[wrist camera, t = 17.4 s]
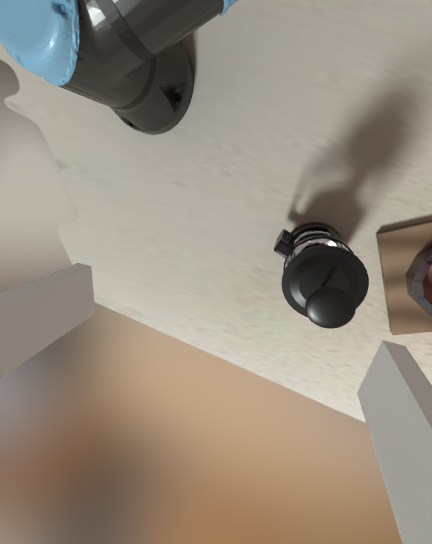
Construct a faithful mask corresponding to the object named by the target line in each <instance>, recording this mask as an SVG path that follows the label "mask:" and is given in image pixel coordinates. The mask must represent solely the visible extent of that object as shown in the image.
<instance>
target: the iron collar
mask: <svg viewBox="0 0 432 544" xmlns="http://www.w3.org/2000/svg"><path fill="white" fill-rule="evenodd" d="M431 265H432V245H431V246H429V247H428V248H426V249H425V250H423V251H422V252H420V253H419V254H417V255H416V257H415V258H414V260H413V262H412V264H411V266H410V267H409V269H408V271H407V273H406V275H405V276H406V284H407V292H408V295H409V296H410V297H411V298H412V299H413V300H414V301H415V302H416V303H417V304H418V305H419V306H420V307H421V308H422V309H423V310H424V311H425V312H426V313H427V314H428V315H429V316H432V304H431V303H429V302H428V301H427V300H426V299H425V298H424V292H423V282H422V281H423V279H424V277H425V275H426V274H427V272H428V270H429V269H430V267H431Z"/></svg>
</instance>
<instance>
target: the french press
mask: <svg viewBox="0 0 432 544" xmlns="http://www.w3.org/2000/svg"><path fill="white" fill-rule="evenodd" d="M313 230H317V231H322V232H310V233H307V234H304V235H302V236H300V235H301V234H303V233H305V232H308V231H313ZM299 236H300V237H299ZM298 237H299V238H298ZM297 238H298V239H297ZM344 246H345V247H347V248H348V250H349V251H348V250H346V249H345V247H344ZM274 251H275V252H277V253H278V254H280V255H281V256H283V257H285V262H284V270H283V272H284V273H283V276H282V291H283V294H284V297H285V299H286V300H287V302H288V303H289V305H290V306H291V307H292V308H293V309H294V310H296V311H297V312H298V313H300V314H302V315H304V316H306V317H308V318H309V319H310V320H311V321H312V322H313V323H314V324H316V325H318V326H320V327H323V328H338V327H341V326H344V325H345V324H347V323H348V322H349V321H350V320H351V319H352V318H353V316H354V314H355V310H356V308H357V307H358V306H359V305H360V304H361V303H362V301H363V300H364V298H365V296H366V294H367V291H368V286H369V278H368V274H367V270H366V268H365V267H364V265H363V263H362V262H361V261H360V260H359V258H358V257H357V256H356V255H354V253H353V252H352V250H351V249H350V248H349V247H348V246H347V245H346V244H345V243H344V241H343V240H342V239H341V237H340V235H339V233H338V232H337V231H336V230H335V229H334V228H332V227H331V226H329V225H327V224H324V223H319V222H312V223H307V224H304V225H301V226H300V227H298V228H296V229H295V230H294V231H293V232H292V233H290V232H288V231H286V230H284V229H283V230H282V232H281V233H280V235H279V236H278V238H277V241H276V244H275V247H274ZM286 262H287V266H286V268H285V265H286Z"/></svg>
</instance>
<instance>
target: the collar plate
mask: <svg viewBox="0 0 432 544" xmlns="http://www.w3.org/2000/svg"><path fill="white" fill-rule="evenodd" d="M376 236H377V243H378V249H379V256H380V263H381V270H382V277H383V284H384V290H385V297H386V304H387V311H388V318H389V324H390V331H391V333H392V334H393V335H399V334H411V333H422V332H432V316H429V315H428V314H427V313H426V312H425V311H424V310H423V309H422V308H421V307H420V306H419V305H418V304H417V303H416V302H415V301H414V300H413V299H412V298H411V297H410V296H409V295H408V292H407V284H406V276H405V275H406V273H407V271H408V269H409V267H410V266H411V264H412V262H413V260H414V258H415V257H416V255H417V254H419V253H420V252H422V251H423V250H425V249H426V248H428V247H429V246H431V245H432V221H429V222H424V223H420V224H415V225H411V226H406V227H402V228H397V229H393V230H388V231H384V232H379V233H376ZM431 276H432V265H431V267H430V269H429V270H428V272H427V274H426V275H425V277H424V279H423V281H422V282H423V292H424V298H425V299H426V300H427V301H428V302H429V303H431V304H432V284H431Z"/></svg>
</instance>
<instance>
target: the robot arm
mask: <svg viewBox="0 0 432 544" xmlns="http://www.w3.org/2000/svg"><path fill="white" fill-rule="evenodd" d="M236 1H238V0H0V42H1V44H2V45H3V47H4V48H5V50H6V51H7V52H8V53H9V55H10V56H11V57H12V58H13V59H14V60H15V61H16V62H17V63H18V64H19V65H21V66H22V67H23V68H25V69H26V70H28V71H30V72H32V73H34V74H36V75H38V76H40V77H42V78H44V79H45V80H46V81H47V82H49V83H51V84H52V85H55V86H59V87H62V88H64V89H67V90H69V91H72V92H74V93H77V94H79V95H82V96H84V97H87V98H89V99H92V100H94V101H97V102H99V103H101V104H104V105H107V106H109V107H110V108H111V109H112V110H113V111H114V112H115V113H116V114H117V115H118V116H119V117H120V118H121V120H122V121H123V122H125V123H126V124H127V125H128V126H130V127H131V128H133V129H135V130H137V131H140V132H143V133H146V134H152V135H155V134H161V133H164V132H167V131H169V130H170V129H172V128H173V127H174V126H176V125H177V124H178V123H179V122H180V120H181V119H182V118H183V116H184V114H185V113H186V111H187V109H188V106H189V104H190V100H191V96H192V91H193V70H192V65H191V61H190V58H189V55H188V53H187V51H186V49H185V47H184V45H183V44H182V42H181V41H180V40H182V39H183V38H185V37H186V36H188V35H189V34H191V33H192V32H193V31H195V30H196V29H198V28H199V27H201V26H202V25H204V24H205V23H207V22H208V21H210V20H211V19H212V18H214V17H215V16H217V15H218V14H219V15H220V16H222V15H223V14H225V13H226V11H227V9H228V8H229V7H230V6H231V5H232V4H234V3H235V2H236ZM93 314H95V305H94V293H93V282H92V270H91V266H88V265H84V264H80V263H77V264H75V265H72V266H70V267H67V268H65V269H62V270H59V271H57V272H54V273H52V274H50V275H47V276H44V277H41V278H39V279H37V280H34V281H31V282H29V283H26V284H24V285H21V286H18V287H16V288H13V289H11V290H8V291H6V292H3V293H1V294H0V378H1V377H2V376H4V375H5V374H7V373H8V372H10V371H11V370H13V369H14V368H15V367H17V366H18V365H20V364H21V363H23V362H24V361H26V360H27V359H29V358H30V357H32V356H33V355H35V354H36V353H38V352H39V351H41V350H42V349H44V348H45V347H47V346H48V345H49V344H51V343H52V342H54V341H55V340H57V339H58V338H60V337H61V336H62V335H64V334H66V333H67V332H68V331H70V330H71V329H73V328H74V327H76V326H77V325H79V324H80V323H82V322H83V321H85V320H86V319H88V318H89V317H91V316H92V315H93ZM357 394H358V397H359V400H360V404H361V407H362V410H363V414H364V417H365V420H366V423H367V427H368V430H369V433H370V436H371V440H372V443H373V447H374V450H375V453H376V457H377V460H378V463H379V467H380V470H381V473H382V477H383V480H384V483H385V486H386V490H387V493H388V496H389V500H390V503H391V507H392V510H393V513H394V516H395V520H396V523H397V526H398V530H399V533H400V536H401V539H402V543H403V544H432V385H431V384H430V382H429V381H428V379H427V378H426V376H425V375H424V373H423V372H422V370H421V369H420V367H419V366H418V364H417V363H416V361H415V360H414V358H413V357H412V355H411V354H410V352H409V351H408V349H407V348H406V346H403V345H399V344H395V343H391V342H387V341H383V340H382V342H381V345H380V347H379V349H378V351H377V353H376V355H375V357H374V359H373V361H372V363H371V365H370V367H369V370H368V372H367V374H366V376H365V378H364V380H363V382H362V384H361V386H360V388H359V390H358V392H357Z"/></svg>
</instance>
